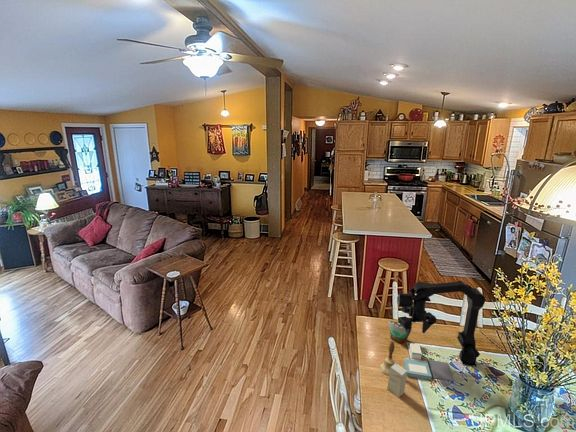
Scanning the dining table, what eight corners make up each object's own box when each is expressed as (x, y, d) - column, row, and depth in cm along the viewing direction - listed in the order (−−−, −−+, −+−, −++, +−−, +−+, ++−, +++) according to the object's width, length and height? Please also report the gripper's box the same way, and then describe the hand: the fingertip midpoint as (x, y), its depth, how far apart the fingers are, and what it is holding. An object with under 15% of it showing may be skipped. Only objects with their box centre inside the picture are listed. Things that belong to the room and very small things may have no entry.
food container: (385, 340, 172) (387, 324, 169) (387, 333, 177) (389, 318, 175) (408, 347, 167) (410, 331, 164) (410, 340, 172) (412, 325, 169)
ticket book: (426, 364, 154) (427, 361, 153) (431, 380, 145) (431, 376, 144) (403, 361, 156) (404, 357, 156) (406, 375, 147) (407, 372, 146)
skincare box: (386, 389, 139) (389, 366, 136) (392, 384, 142) (395, 362, 139) (399, 398, 134) (402, 375, 131) (404, 393, 137) (408, 370, 134)
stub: (417, 353, 162) (419, 344, 161) (420, 362, 155) (421, 353, 154) (408, 352, 163) (410, 343, 162) (411, 361, 156) (412, 352, 155)
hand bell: (397, 365, 153) (401, 338, 149) (397, 377, 146) (400, 349, 141) (380, 361, 156) (383, 334, 152) (379, 372, 149) (382, 344, 144)
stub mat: (447, 363, 155) (448, 362, 155) (454, 381, 144) (455, 380, 144) (427, 360, 157) (427, 359, 157) (433, 378, 146) (433, 377, 146)
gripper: (424, 296, 163) (420, 322, 167) (393, 301, 158) (390, 327, 162) (439, 308, 153) (435, 334, 157) (406, 313, 148) (403, 341, 152)
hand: (415, 334), depth 157 cm, fingers open, 9 cm apart
